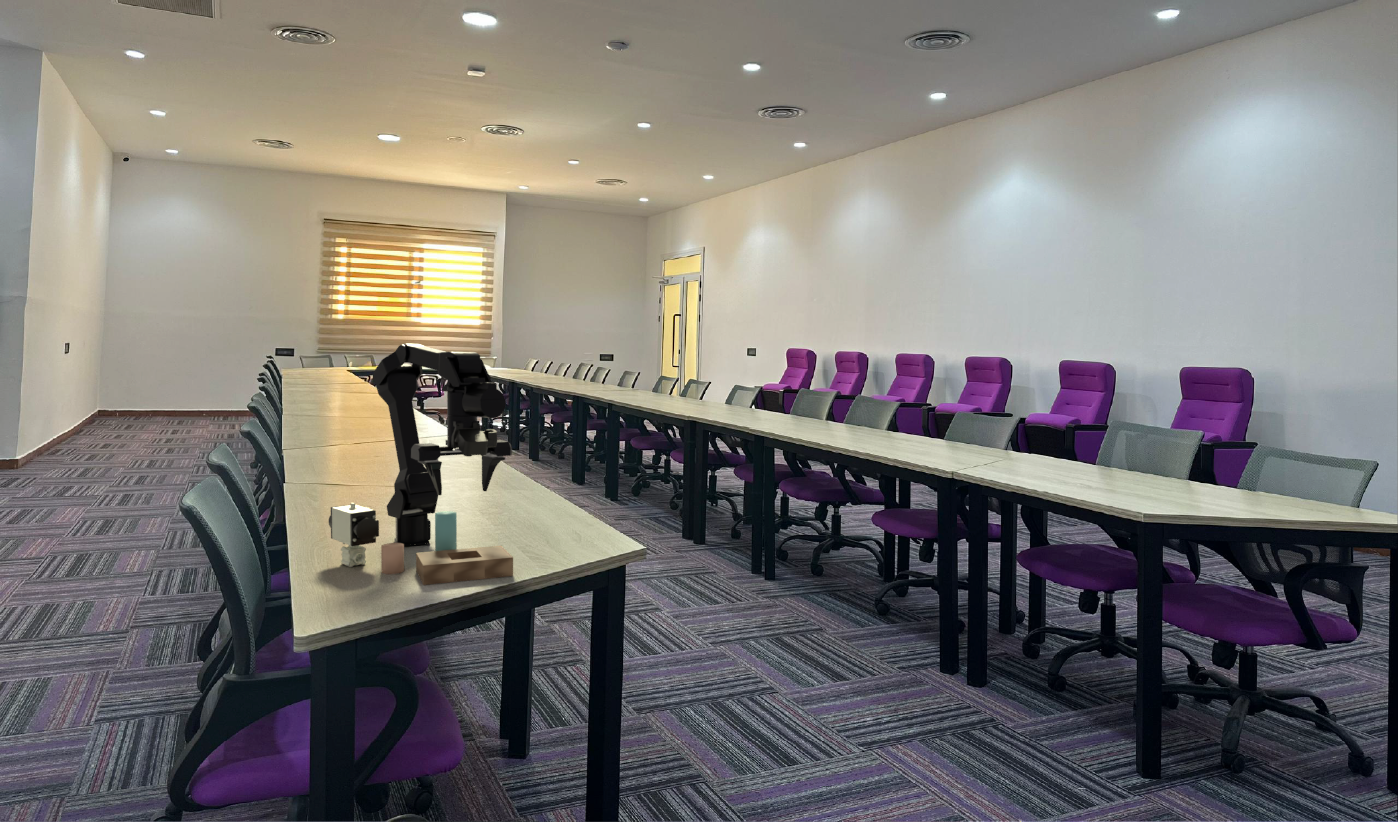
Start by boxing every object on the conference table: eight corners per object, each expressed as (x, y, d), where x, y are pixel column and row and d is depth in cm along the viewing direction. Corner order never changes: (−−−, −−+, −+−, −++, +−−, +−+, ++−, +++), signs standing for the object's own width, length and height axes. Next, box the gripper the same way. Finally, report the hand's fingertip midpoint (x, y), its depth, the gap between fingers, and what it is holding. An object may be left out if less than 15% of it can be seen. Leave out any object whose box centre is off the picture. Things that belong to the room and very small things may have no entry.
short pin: (382, 575, 152) (382, 548, 152) (380, 569, 156) (380, 543, 155) (405, 573, 154) (405, 546, 154) (402, 567, 158) (402, 542, 157)
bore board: (423, 584, 146) (423, 565, 146) (416, 571, 155) (416, 552, 155) (513, 575, 153) (513, 557, 153) (501, 563, 162) (501, 545, 162)
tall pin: (436, 567, 158) (436, 515, 158) (433, 562, 162) (433, 512, 161) (458, 565, 160) (458, 514, 159) (454, 560, 164) (454, 510, 163)
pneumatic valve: (355, 572, 153) (355, 509, 153) (327, 561, 161) (327, 500, 160) (384, 567, 158) (383, 505, 157) (355, 556, 165) (354, 497, 164)
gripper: (428, 419, 151) (428, 503, 152) (523, 416, 162) (523, 495, 163) (409, 415, 160) (410, 494, 161) (500, 412, 171) (500, 487, 172)
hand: (462, 493), depth 164 cm, fingers open, 9 cm apart
